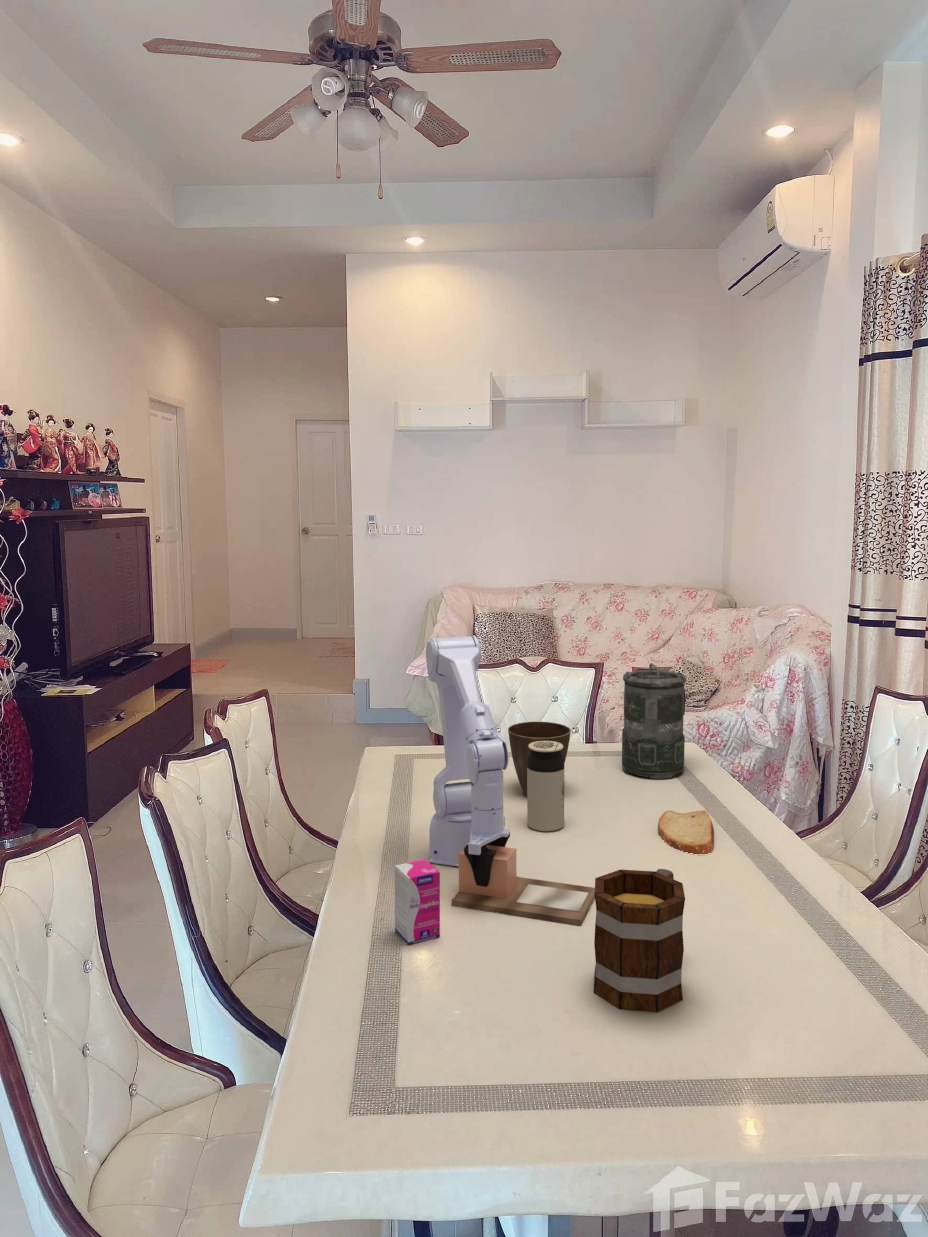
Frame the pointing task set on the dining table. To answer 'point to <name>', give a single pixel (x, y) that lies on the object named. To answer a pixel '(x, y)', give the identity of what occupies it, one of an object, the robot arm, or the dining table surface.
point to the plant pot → (531, 733)
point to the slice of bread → (687, 831)
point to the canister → (653, 723)
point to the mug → (639, 939)
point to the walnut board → (536, 901)
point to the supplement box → (417, 901)
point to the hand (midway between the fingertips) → (487, 878)
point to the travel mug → (545, 786)
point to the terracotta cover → (491, 874)
